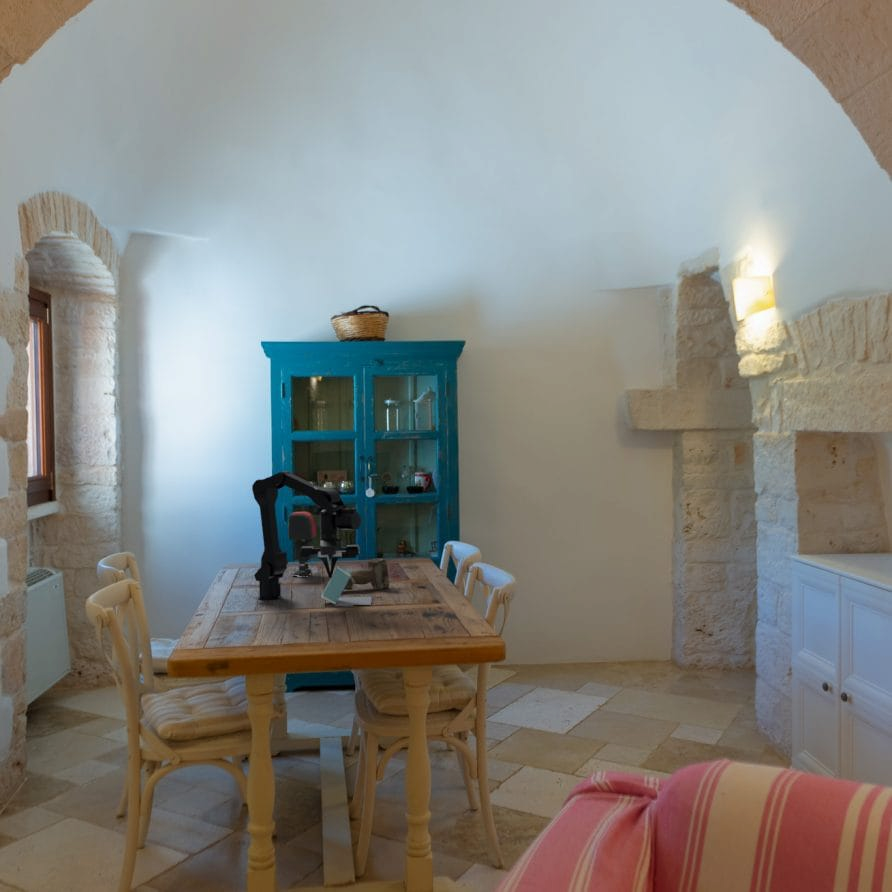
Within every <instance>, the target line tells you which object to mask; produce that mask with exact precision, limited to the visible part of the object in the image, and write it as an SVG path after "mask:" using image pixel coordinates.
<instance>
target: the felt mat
mask: <svg viewBox="0 0 892 892" xmlns="http://www.w3.org/2000/svg"><path fill="white" fill-rule="evenodd" d="M372 600H373V597H372V596H359V597H355V596H354V597H339V599H338V601H337V602H336V604H335V606H343V607H354V606H353V605H371V606H372V604H371V603H372Z"/></svg>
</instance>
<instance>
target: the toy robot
mask: <svg viewBox="0 0 892 892" xmlns="http://www.w3.org/2000/svg"><path fill="white" fill-rule="evenodd" d="M305 498H306V496H305V495H304V496H303V502H305ZM295 504H296V505H298V501H297V500H295ZM297 510H298V509H296V511H294V512H291V513H290V514H289V517H288V524H287V525H288V526H287V527H288V540H289V541H299V542H298V543H297V544H296V545H295V547H294V560H296V561H297V560H298V564H299V565H298V570H297V571H295V572H293V573H292V575H299V576H308V575H309V574H310V573H312V574H313V571H312V570H311V568H309V567H310V566H309V563H308V561H309V560H310V561H311V560H312V558H313V554H312V555H311V556H310V557H300V549H301V548H302V547H303V546H313V543H312V541H310V540H312V539H313V538H315V537H317V535H318V534H317V531H318V530H317V524H316V519H315V516H314V514H312V513H311V512H309V511H305V507H303V510H304V511H297Z"/></svg>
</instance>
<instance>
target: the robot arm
mask: <svg viewBox="0 0 892 892" xmlns="http://www.w3.org/2000/svg"><path fill="white" fill-rule="evenodd" d="M284 487H287V488H289V489H291V490H293V491H295V492H298V493H300V494H301V495H302V496H303V495H304V496H305V497H308V498H309V499H310V500H311V501H312V503H313V504H314V505H316V506H317V507H318V508H317V510H315V512H313V516H319V528H320V529H319V530H320V531H319V532H320V535H319V536H320V539H319V547H318V548H314V546H313V545H312V546H303V547H302V548H301V549H300V557H310V556H311V555H312V556H313V555H317V556H318V557H317V559H318V560H321V561H322V563H323V566H324V567H325V570H326V571H325V572H326V574H327V576H328V578H329V579H331V578H332V575H333V574H334V572H335V569H336V568H335V567H336V565H337V562H338V560H339V559H342V554H347V555H348V556H359V555H360V545H359V544H346V546H345V547H343V538H339V530H342V531H347V530H348V531H357V530H359V528H360V527H361V523H362V518H361V516H360V514H359V512H358V509H357V508H356V507H353V508H348V507H347V505H346V504H345V502H344V501H343V499H342V498H341V495H340V492H339V491H338V490H337V489H333V488H330V487H323V486H319V485H316V484H313V483H312V482H310V481H308V480H305V479H303V478H301V477H299V476H298V475H295V474H293V473H292V472H290V471H289V470H285V471H279V472H276V473H275V474H273V475H271V476H268V477H265V478H261V479H259V478H258V479H256V480H255V481H254V483H253V484H252V485H251V489H252V494H253V498H254V500H255V501H256V503H257V505H258V506H259V511H260V519H261V520H260V521H261V529H262V530H261V531H262V539H263V548H264V549H263V553H262V555H261V557H260V568H258V570H257V571H256V572H255V573H254V574H253V575H254V579H255V581H256V582H258V583H259V584H258V585H259V589H258V590H259V597H258V600H278V598H280V597H281V596H282V582H280V579H282V578H283V577H284V574H285V571H286V570H287V568H288V564H289V561H288V554H287V551H284V552H283V551H282V549H281V547H280V540H279V531H278V524H277V523H278V522H277V513H276V501H277V499H278V497H279V490H280V489H282V488H284ZM329 555H331V563H330V558H329Z"/></svg>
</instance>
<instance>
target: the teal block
mask: <svg viewBox="0 0 892 892" xmlns="http://www.w3.org/2000/svg"><path fill="white" fill-rule="evenodd" d="M350 576H351V574H350V572H348V571H346V570H344V569H341V568H340V567H338V566H337V567H336V568H335V569H334V571H333V575H332V578H329V579H330V580H328V581H329V583H328V585H327V587H326V588H325V589H324V590H323V592H322V594H321V598H322V599H324V600H326V601H327V602H330V603H332V604H333V605H336V604H337V601H338V599H339V598H341V597H340V596H341V595H342V593H343V592H344V590H343V589H344V588H345V586H346V584H347V582H348V580H349V578H350ZM342 591H343V592H342Z"/></svg>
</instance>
